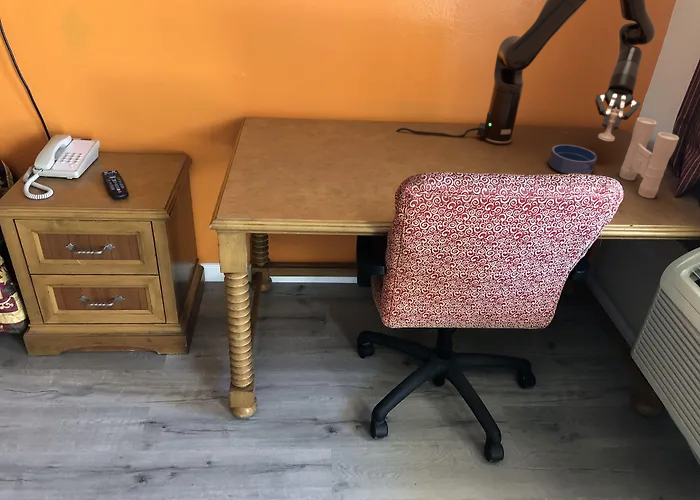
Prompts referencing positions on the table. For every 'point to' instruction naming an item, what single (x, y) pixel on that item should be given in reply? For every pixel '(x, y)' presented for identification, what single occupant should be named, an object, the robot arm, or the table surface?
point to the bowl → (572, 159)
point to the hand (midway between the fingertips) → (610, 128)
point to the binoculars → (648, 156)
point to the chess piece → (609, 128)
